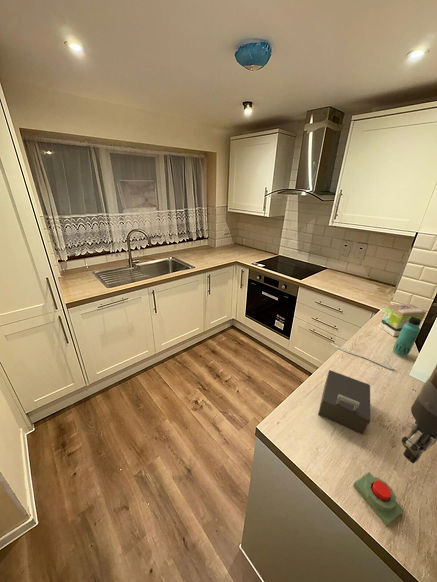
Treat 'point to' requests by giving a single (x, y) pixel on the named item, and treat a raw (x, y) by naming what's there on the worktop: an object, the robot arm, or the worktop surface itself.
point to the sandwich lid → (347, 396)
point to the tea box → (399, 317)
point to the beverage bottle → (407, 337)
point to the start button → (381, 490)
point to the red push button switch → (382, 508)
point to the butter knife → (363, 356)
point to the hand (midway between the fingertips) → (409, 457)
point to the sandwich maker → (341, 417)
